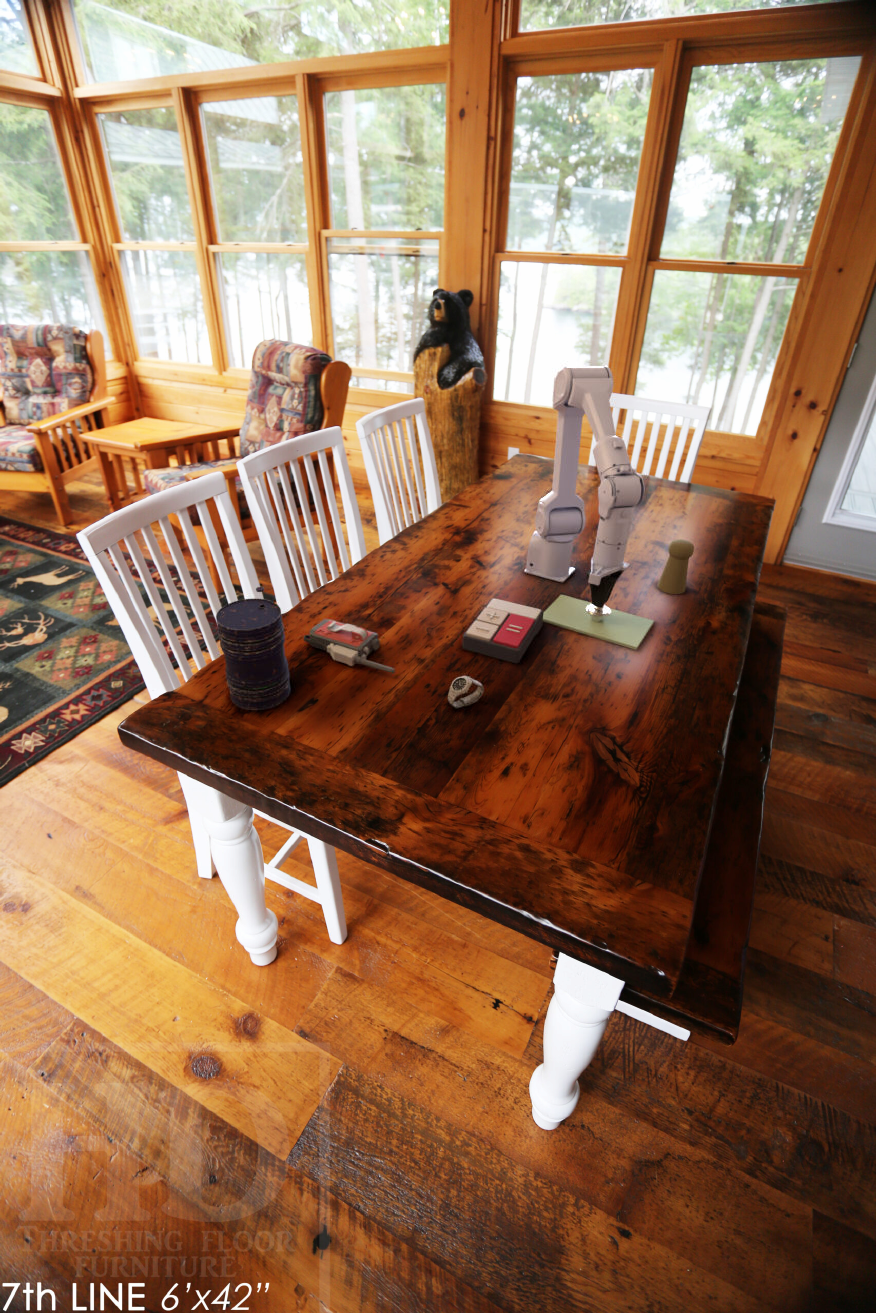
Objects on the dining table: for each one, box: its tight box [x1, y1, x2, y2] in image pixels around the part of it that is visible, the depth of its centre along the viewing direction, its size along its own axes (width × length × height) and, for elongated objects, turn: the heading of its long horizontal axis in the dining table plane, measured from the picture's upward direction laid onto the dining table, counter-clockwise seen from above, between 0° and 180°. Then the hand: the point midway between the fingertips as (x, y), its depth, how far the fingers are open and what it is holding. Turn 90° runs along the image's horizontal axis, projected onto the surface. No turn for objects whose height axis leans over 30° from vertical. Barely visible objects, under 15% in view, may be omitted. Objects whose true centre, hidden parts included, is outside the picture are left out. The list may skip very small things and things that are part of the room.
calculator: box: [462, 598, 545, 664], centre depth 122 cm, size 11×4×15 cm
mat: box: [542, 594, 655, 651], centre depth 129 cm, size 20×12×1 cm, turn 59°
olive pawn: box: [656, 538, 695, 595], centre depth 140 cm, size 6×6×11 cm
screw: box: [586, 574, 611, 622], centre depth 126 cm, size 13×5×5 cm
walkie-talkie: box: [302, 618, 396, 674], centre depth 116 cm, size 9×4×20 cm
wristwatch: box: [447, 675, 485, 709], centre depth 104 cm, size 4×6×5 cm, turn 119°
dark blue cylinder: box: [215, 586, 291, 711], centre depth 102 cm, size 10×10×18 cm
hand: (599, 603), depth 127 cm, fingers closed on screw, 2 cm apart
